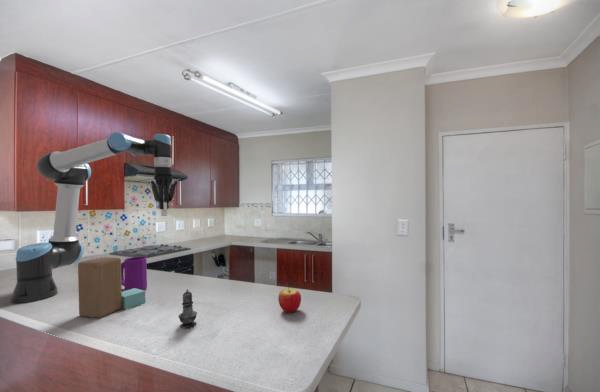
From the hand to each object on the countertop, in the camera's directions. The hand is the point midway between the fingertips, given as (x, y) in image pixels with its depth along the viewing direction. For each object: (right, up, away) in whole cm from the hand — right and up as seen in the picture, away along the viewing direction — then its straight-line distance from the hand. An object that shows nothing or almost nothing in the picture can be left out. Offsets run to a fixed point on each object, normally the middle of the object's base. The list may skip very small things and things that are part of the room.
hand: (164, 215), depth 136 cm
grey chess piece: (+28, -34, -42) cm, 61 cm away
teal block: (-4, -35, -21) cm, 41 cm away
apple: (+62, -33, -32) cm, 77 cm away
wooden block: (-10, -35, -29) cm, 46 cm away
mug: (-14, -35, -2) cm, 38 cm away
